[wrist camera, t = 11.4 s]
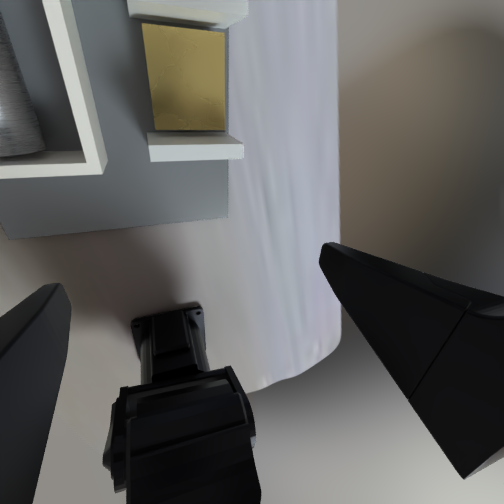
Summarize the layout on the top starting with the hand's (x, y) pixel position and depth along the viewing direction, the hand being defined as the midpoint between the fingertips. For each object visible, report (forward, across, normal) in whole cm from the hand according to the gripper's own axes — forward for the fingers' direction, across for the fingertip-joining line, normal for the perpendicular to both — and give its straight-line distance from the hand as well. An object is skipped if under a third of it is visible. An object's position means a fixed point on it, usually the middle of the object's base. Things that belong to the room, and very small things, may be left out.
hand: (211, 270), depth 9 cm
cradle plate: (+11, -1, -5) cm, 12 cm away
